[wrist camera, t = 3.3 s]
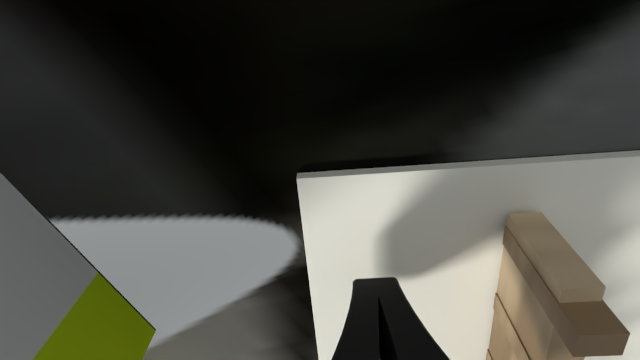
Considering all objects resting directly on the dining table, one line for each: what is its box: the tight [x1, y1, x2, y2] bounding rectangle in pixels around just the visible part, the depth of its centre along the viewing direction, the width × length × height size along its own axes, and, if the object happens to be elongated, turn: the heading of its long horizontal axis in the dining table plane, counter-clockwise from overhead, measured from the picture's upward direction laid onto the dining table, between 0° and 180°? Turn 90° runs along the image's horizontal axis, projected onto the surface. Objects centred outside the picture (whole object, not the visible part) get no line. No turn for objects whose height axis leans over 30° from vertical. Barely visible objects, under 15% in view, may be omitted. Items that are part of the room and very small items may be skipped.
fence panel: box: [486, 212, 630, 360], centre depth 13 cm, size 7×1×4 cm, turn 5°
